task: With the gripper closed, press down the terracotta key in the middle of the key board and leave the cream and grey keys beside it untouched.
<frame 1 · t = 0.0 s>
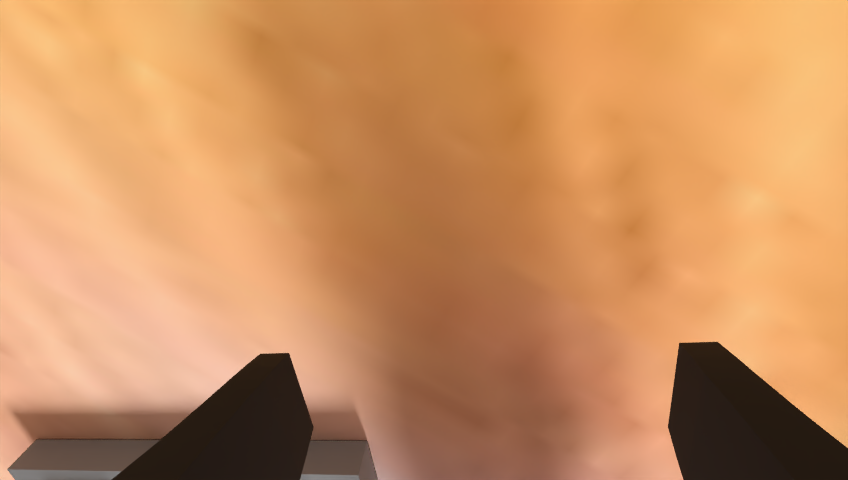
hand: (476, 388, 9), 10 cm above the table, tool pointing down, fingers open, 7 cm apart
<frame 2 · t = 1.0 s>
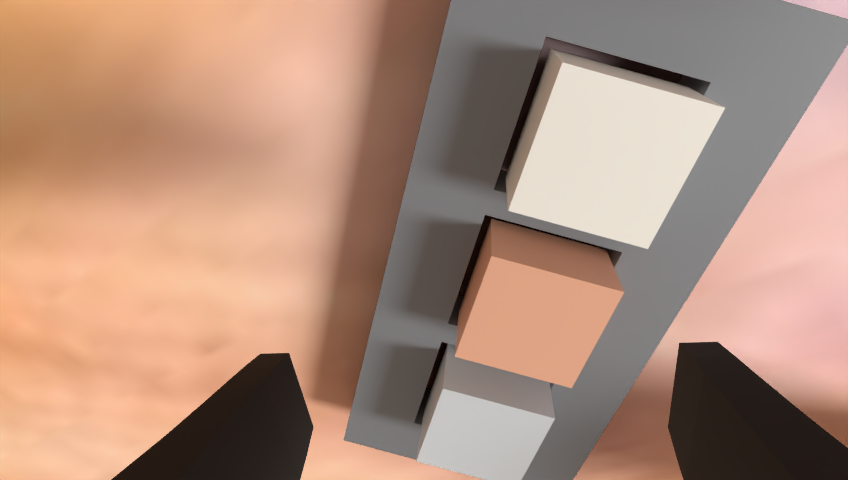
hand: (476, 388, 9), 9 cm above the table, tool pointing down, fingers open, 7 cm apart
terracotta key: (531, 302, 16), point 3 cm above the table, slide at 0.0 cm
cream key: (599, 148, 14), point 3 cm above the table, slide at 0.0 cm
grey key: (482, 414, 19), point 3 cm above the table, slide at 0.0 cm
key board: (525, 260, 19), on the table
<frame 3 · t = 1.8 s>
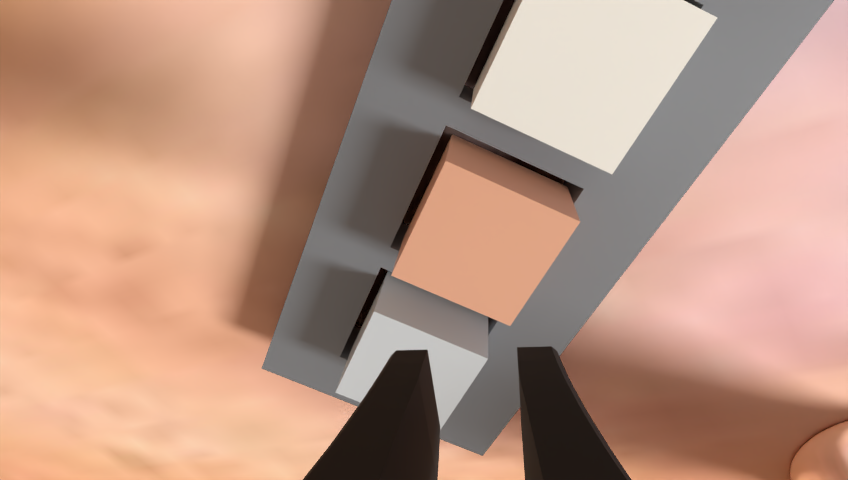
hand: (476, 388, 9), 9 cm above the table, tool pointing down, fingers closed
terracotta key: (481, 230, 15), point 3 cm above the table, slide at 0.0 cm
cream key: (577, 58, 13), point 3 cm above the table, slide at 0.0 cm
grey key: (413, 351, 18), point 3 cm above the table, slide at 0.0 cm
key board: (482, 195, 18), on the table
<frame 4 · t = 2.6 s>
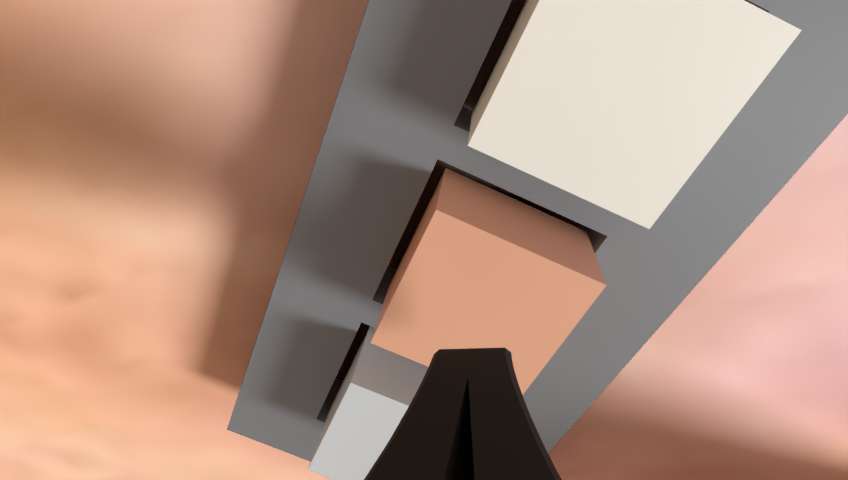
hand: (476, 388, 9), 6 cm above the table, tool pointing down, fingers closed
terracotta key: (481, 285, 12), point 3 cm above the table, slide at 0.0 cm
cream key: (605, 79, 10), point 3 cm above the table, slide at 0.0 cm
grey key: (400, 419, 15), point 3 cm above the table, slide at 0.0 cm
key board: (482, 235, 15), on the table
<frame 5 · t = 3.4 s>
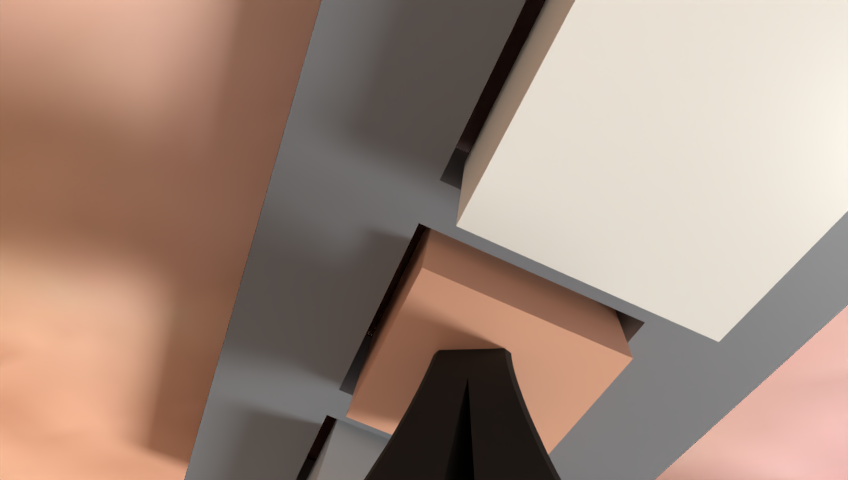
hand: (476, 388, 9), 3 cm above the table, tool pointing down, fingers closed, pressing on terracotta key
terracotta key: (478, 346, 10), point 2 cm above the table, slide at 1.1 cm, touching gripper
cream key: (655, 127, 7), point 3 cm above the table, slide at 0.0 cm
key board: (480, 302, 12), on the table
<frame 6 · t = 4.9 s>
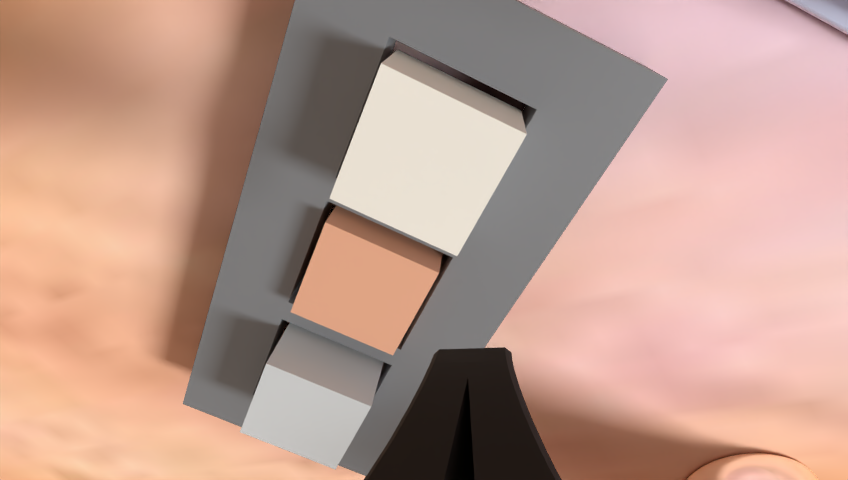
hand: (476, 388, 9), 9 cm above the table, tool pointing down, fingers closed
terracotta key: (369, 273, 18), point 2 cm above the table, slide at 1.2 cm
cream key: (427, 153, 14), point 3 cm above the table, slide at 0.0 cm
grey key: (313, 394, 19), point 3 cm above the table, slide at 0.0 cm
key board: (377, 253, 19), on the table
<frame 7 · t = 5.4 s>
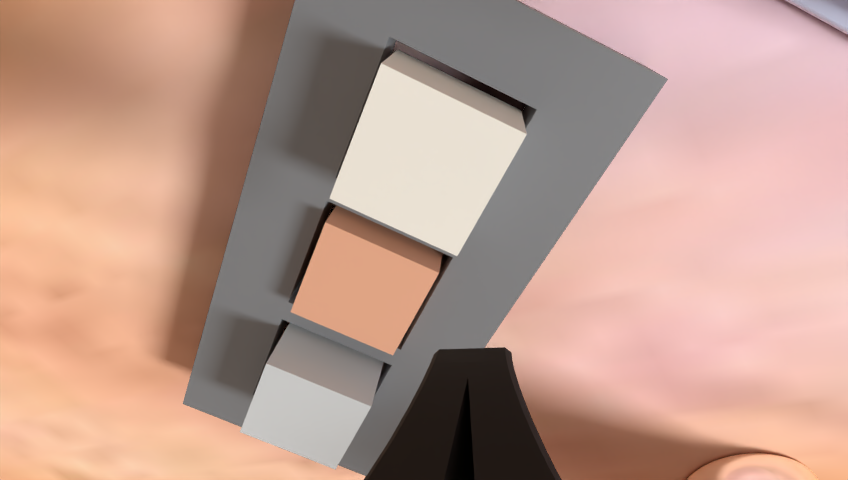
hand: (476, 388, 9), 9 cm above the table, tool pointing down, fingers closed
terracotta key: (369, 273, 18), point 2 cm above the table, slide at 1.2 cm
cream key: (427, 153, 14), point 3 cm above the table, slide at 0.0 cm
grey key: (313, 394, 19), point 3 cm above the table, slide at 0.0 cm
key board: (377, 253, 19), on the table
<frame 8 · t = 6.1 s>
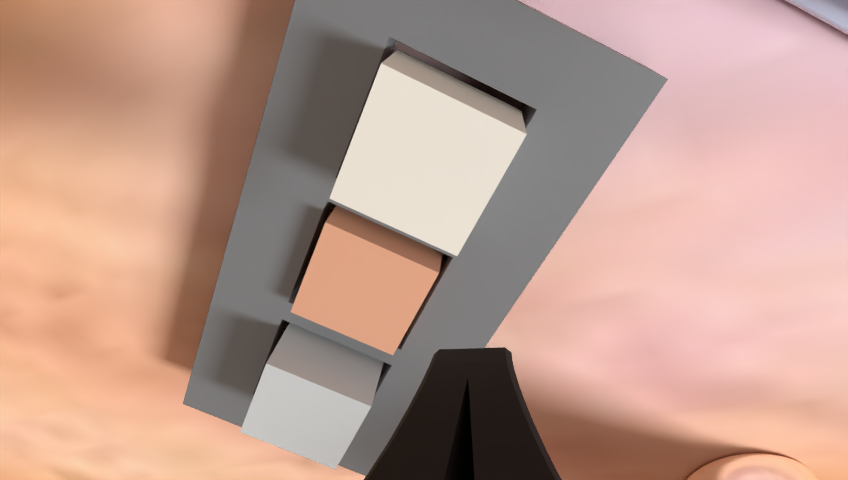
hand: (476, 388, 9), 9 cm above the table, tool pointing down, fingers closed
terracotta key: (369, 273, 18), point 2 cm above the table, slide at 1.2 cm
cream key: (427, 153, 14), point 3 cm above the table, slide at 0.0 cm
grey key: (313, 394, 19), point 3 cm above the table, slide at 0.0 cm
key board: (377, 253, 19), on the table
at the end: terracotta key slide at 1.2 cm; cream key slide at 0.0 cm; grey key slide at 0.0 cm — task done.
